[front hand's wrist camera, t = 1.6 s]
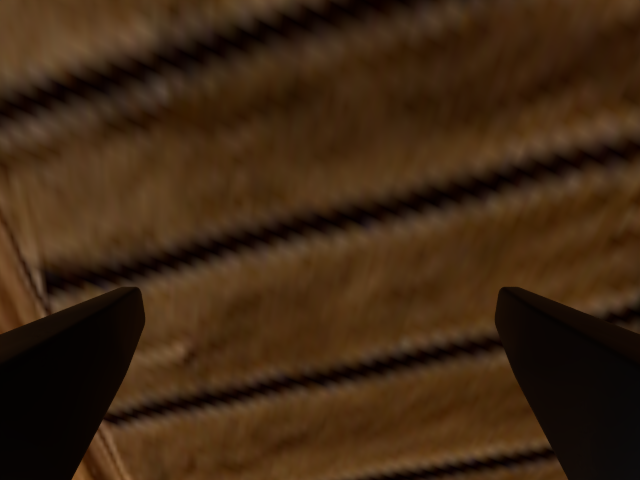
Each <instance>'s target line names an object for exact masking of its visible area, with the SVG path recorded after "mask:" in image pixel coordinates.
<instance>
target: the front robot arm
mask: <svg viewBox="0 0 640 480" xmlns="http://www.w3.org/2000/svg"><path fill="white" fill-rule="evenodd" d="M144 325H145V312H144V306H143V300H142V294H141V291H140V289H139V288H138V287H121V288H118V289H115V290H113V291H110V292H108V293H105V294H103V295H100V296H98V297H95V298H92V299H90V300H87V301H85V302H82V303H80V304H77V305H75V306H72V307H69V308H67V309H64V310H62V311H59V312H57V313H54V314H52V315H49V316H46V317H44V318H41V319H39V320H36V321H34V322H31V323H29V324H26V325H23V326H21V327H18V328H16V329H13V330H11V331H8V332H6V333H3V334H0V480H72V478H73V476H74V474H75V472H76V470H77V468H78V466H79V464H80V462H81V460H82V458H83V457H84V455H85V453H86V451H87V449H88V447H89V445H90V443H91V441H92V439H93V437H94V435H95V433H96V432H97V430H98V428H99V426H100V424H101V422H102V420H103V418H104V416H105V414H106V412H107V410H108V408H109V406H110V405H111V403H112V401H113V399H114V397H115V395H116V393H117V391H118V389H119V387H120V385H121V383H122V381H123V379H124V377H125V375H126V373H127V370H128V368H129V365H130V363H131V360H132V357H133V355H134V352H135V349H136V347H137V344H138V341H139V339H140V336H141V333H142V331H143V328H144ZM495 325H496V328H497V331H498V333H499V336H500V339H501V341H502V344H503V347H504V349H505V352H506V355H507V357H508V360H509V363H510V365H511V368H512V370H513V373H514V375H515V377H516V379H517V381H518V383H519V385H520V387H521V389H522V391H523V393H524V395H525V397H526V399H527V401H528V403H529V405H530V407H531V408H532V410H533V412H534V414H535V416H536V418H537V420H538V422H539V424H540V426H541V428H542V430H543V432H544V433H545V435H546V437H547V439H548V441H549V443H550V445H551V447H552V449H553V451H554V453H555V455H556V457H557V458H558V460H559V462H560V464H561V466H562V468H563V470H564V472H565V474H566V476H567V478H568V480H640V334H637V333H634V332H632V331H629V330H627V329H624V328H622V327H619V326H617V325H614V324H611V323H609V322H606V321H604V320H601V319H599V318H596V317H594V316H591V315H588V314H586V313H583V312H581V311H578V310H576V309H573V308H571V307H568V306H565V305H563V304H560V303H558V302H555V301H553V300H550V299H548V298H545V297H542V296H540V295H537V294H535V293H532V292H530V291H527V290H525V289H522V288H519V287H502V288H501V289H500V291H499V294H498V300H497V306H496V312H495Z"/></svg>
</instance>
